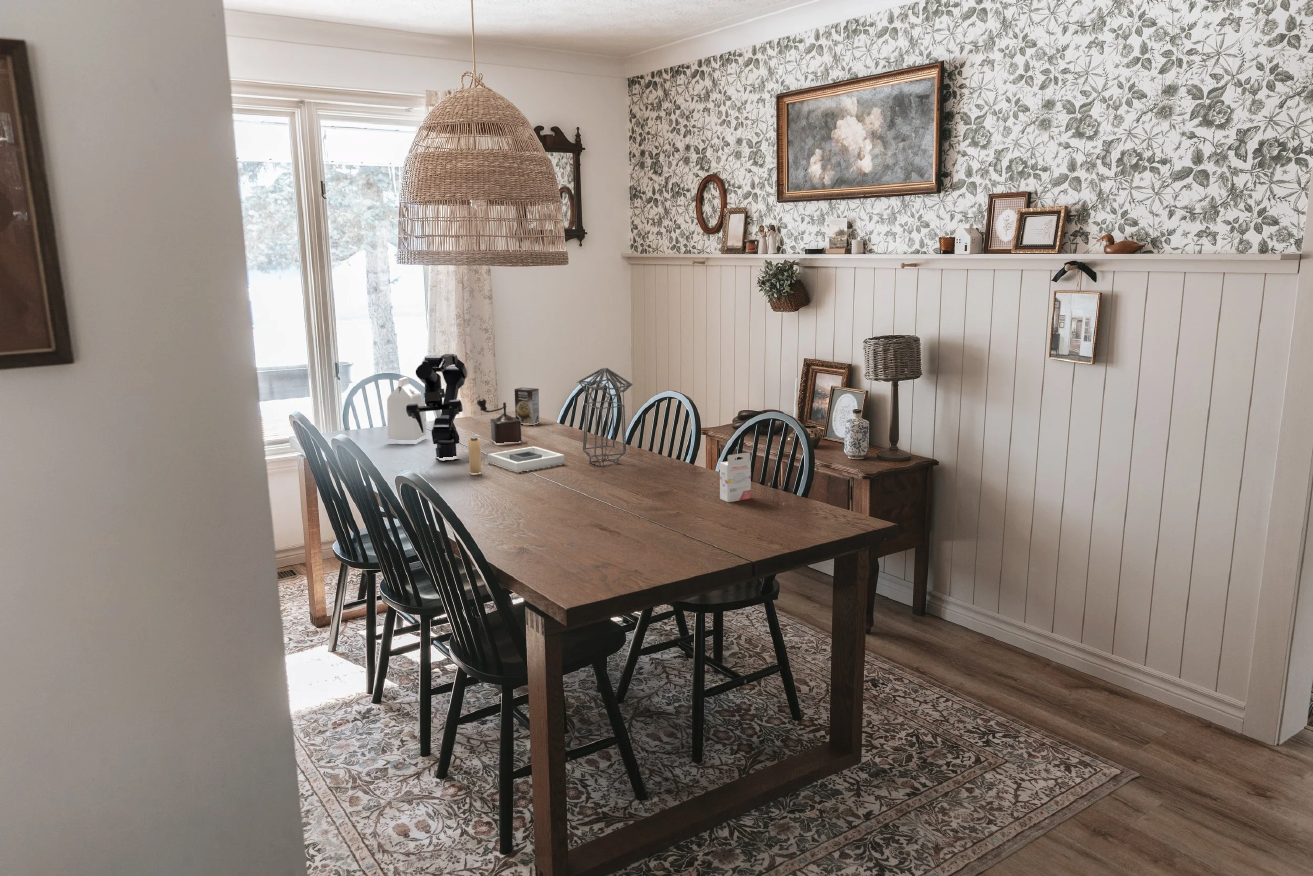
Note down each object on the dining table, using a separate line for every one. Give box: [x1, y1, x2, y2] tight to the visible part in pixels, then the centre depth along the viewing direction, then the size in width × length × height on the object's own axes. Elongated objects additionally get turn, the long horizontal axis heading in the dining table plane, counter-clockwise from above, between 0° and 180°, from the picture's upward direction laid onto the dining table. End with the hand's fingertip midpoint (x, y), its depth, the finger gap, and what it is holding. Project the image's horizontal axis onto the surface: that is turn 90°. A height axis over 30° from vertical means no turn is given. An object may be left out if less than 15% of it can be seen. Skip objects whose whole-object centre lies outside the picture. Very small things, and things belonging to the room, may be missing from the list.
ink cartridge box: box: [719, 452, 752, 503], centre depth 279 cm, size 9×5×15 cm, turn 117°
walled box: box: [487, 446, 566, 472], centre depth 329 cm, size 20×20×4 cm
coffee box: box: [514, 387, 540, 424], centre depth 404 cm, size 9×6×16 cm
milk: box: [386, 376, 427, 440], centre depth 368 cm, size 12×12×26 cm
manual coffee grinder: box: [476, 398, 522, 443], centre depth 364 cm, size 16×11×18 cm
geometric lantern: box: [576, 367, 633, 467], centre depth 325 cm, size 16×16×35 cm
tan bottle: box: [467, 437, 483, 473], centre depth 314 cm, size 4×4×13 cm
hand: (436, 431), depth 314 cm, fingers open, 9 cm apart
